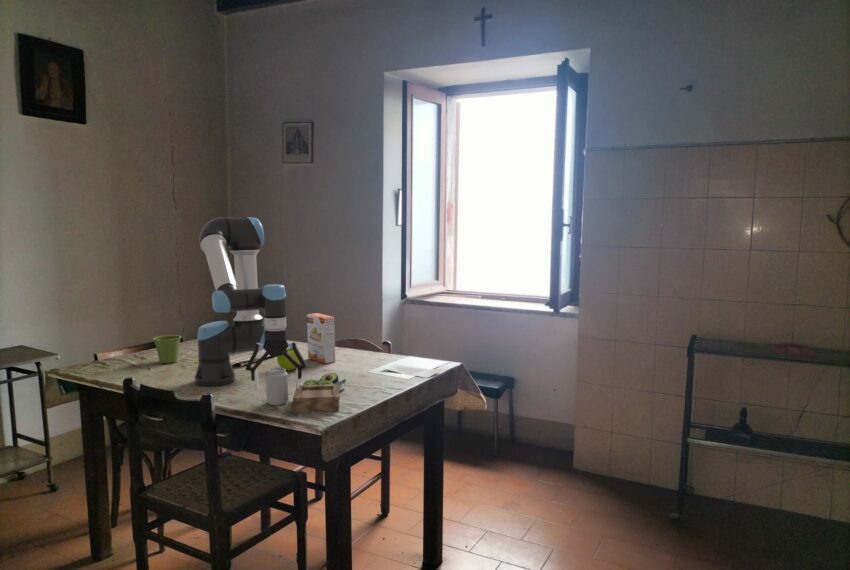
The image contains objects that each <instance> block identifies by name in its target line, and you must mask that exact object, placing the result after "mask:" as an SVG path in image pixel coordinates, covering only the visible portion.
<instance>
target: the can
mask: <svg viewBox="0 0 850 570" xmlns="http://www.w3.org/2000/svg"><path fill="white" fill-rule="evenodd" d="M288 375H289V373H288V372H287V371H286V369H284V368H281V367H273V368H269V369H268V370H267V372H266V374H265V385H266V386H265V390H266V391H265V393H266V403H267V404H269V405H270V404H271V405H270V406H276V405H277V406H282V404H283V405H285V404H287V403H288V402H289V376H288Z"/></svg>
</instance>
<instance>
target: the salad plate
mask: <svg viewBox="0 0 850 570" xmlns="http://www.w3.org/2000/svg"><path fill="white" fill-rule="evenodd" d="M346 382H347V379H345V378H344V379H339V376H338V373H335V372H328V373H325V374H324V375H322V376H321V378H320V379H312V378H310V379H307V380H304V381H301V382H300V383H299V386H300V385H331V384H340V392H341V391H343V390H344V389H345V383H346Z"/></svg>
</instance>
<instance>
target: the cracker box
mask: <svg viewBox="0 0 850 570" xmlns="http://www.w3.org/2000/svg"><path fill="white" fill-rule="evenodd" d="M335 321H336V320H335V317H334V316H332V315H327V314H323V313H318V312H316V313H315V312H314V313H308V314H306V325H307V326H306V327H307V330H306V331H307V358H310V359H309V360H312V359H313V361H315V360H316V361H315V362H318V363H321V362H322V364H324V363H325V365H326V363H328V364H331V362H332V363H336V335H335V333H336V332H335V331H336V329H335V328H336V326H335Z"/></svg>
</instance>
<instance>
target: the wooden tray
mask: <svg viewBox="0 0 850 570" xmlns="http://www.w3.org/2000/svg"><path fill="white" fill-rule="evenodd" d="M340 392H341V391H340V384H331V385H300V384H299V388H298V389H296V388H295V390H294V394H293V398H292V410H293V411H292V413H293V414H295V413H294V412H300V413H317V412H316V411H327V412H339V411H340V401H339V400H340V398H341V396H340V394H341V393H340ZM312 411H314V412H312Z"/></svg>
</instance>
